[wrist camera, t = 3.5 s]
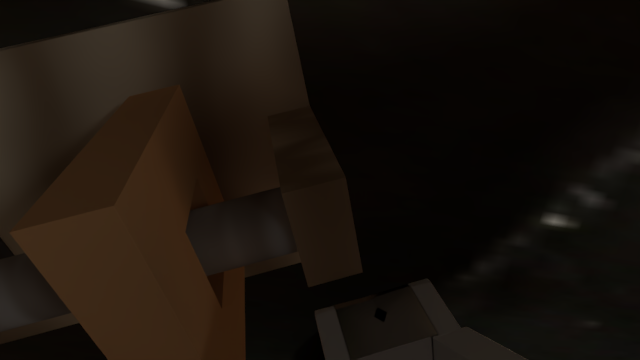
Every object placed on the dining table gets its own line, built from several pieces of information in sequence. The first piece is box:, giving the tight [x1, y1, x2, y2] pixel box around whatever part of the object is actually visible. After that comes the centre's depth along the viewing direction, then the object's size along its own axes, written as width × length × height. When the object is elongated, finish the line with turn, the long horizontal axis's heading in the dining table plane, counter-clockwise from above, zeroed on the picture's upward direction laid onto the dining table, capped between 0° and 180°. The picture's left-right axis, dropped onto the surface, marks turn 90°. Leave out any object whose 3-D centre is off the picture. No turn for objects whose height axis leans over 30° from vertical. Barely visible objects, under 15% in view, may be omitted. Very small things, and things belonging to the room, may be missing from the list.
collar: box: [9, 85, 246, 360], centre depth 13 cm, size 2×9×9 cm, turn 11°
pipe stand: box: [0, 0, 363, 344], centre depth 15 cm, size 22×14×8 cm, turn 101°
